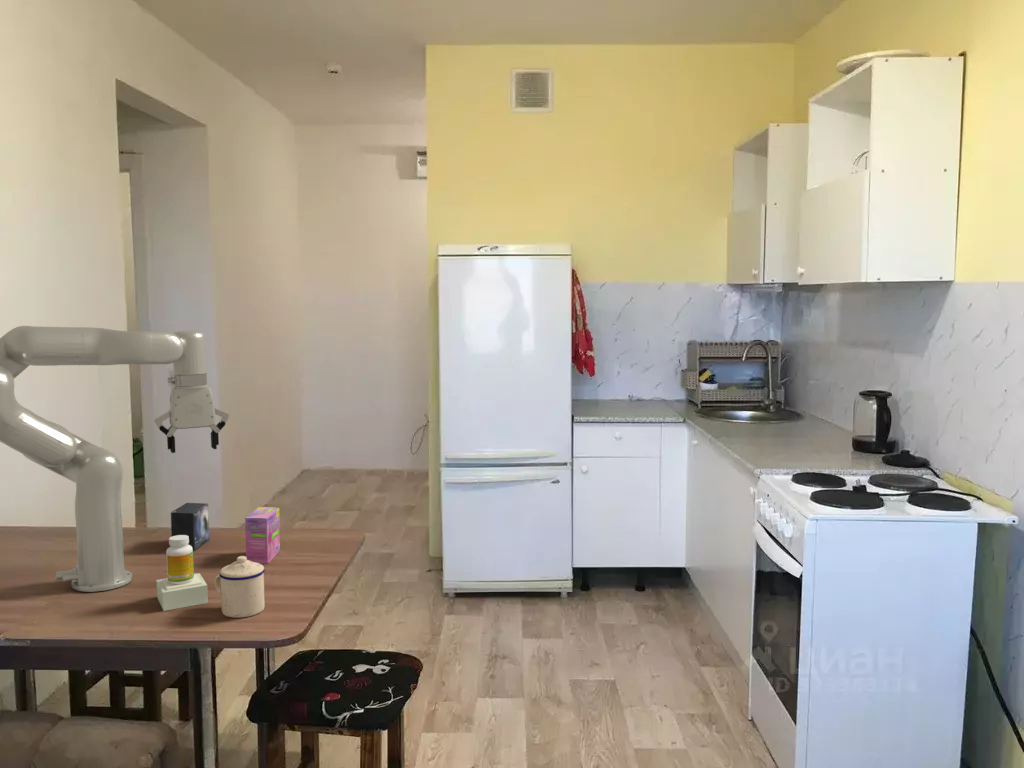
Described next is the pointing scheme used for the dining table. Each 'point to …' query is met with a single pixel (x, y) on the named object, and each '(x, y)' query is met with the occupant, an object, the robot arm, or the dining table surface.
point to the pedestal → (182, 593)
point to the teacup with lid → (241, 588)
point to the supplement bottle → (179, 560)
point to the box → (262, 534)
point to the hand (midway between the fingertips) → (193, 450)
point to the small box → (191, 523)
